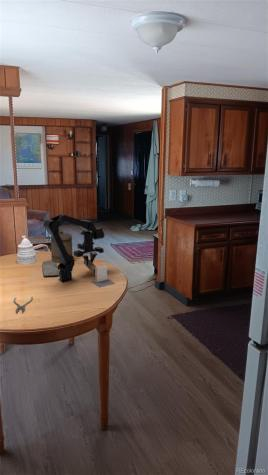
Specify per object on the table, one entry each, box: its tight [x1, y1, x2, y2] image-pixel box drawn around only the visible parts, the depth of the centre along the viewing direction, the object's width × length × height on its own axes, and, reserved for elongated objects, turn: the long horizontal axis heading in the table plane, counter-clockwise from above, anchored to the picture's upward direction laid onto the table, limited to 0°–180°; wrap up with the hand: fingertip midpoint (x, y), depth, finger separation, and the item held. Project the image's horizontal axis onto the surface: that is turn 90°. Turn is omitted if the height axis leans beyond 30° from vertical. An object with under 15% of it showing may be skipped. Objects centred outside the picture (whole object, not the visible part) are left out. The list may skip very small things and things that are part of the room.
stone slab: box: [41, 260, 60, 278], centre depth 228 cm, size 10×3×30 cm
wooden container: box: [50, 229, 74, 264], centre depth 247 cm, size 15×15×22 cm
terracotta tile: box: [94, 264, 108, 282], centre depth 207 cm, size 7×2×9 cm, turn 126°
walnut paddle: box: [83, 258, 97, 278], centre depth 215 cm, size 16×6×5 cm, turn 36°
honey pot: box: [16, 235, 37, 265], centre depth 244 cm, size 13×13×18 cm
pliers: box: [13, 296, 34, 314], centre depth 175 cm, size 10×1×20 cm
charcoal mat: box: [90, 278, 116, 288], centre depth 204 cm, size 11×11×1 cm
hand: (89, 264), depth 218 cm, fingers closed on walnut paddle, 2 cm apart
